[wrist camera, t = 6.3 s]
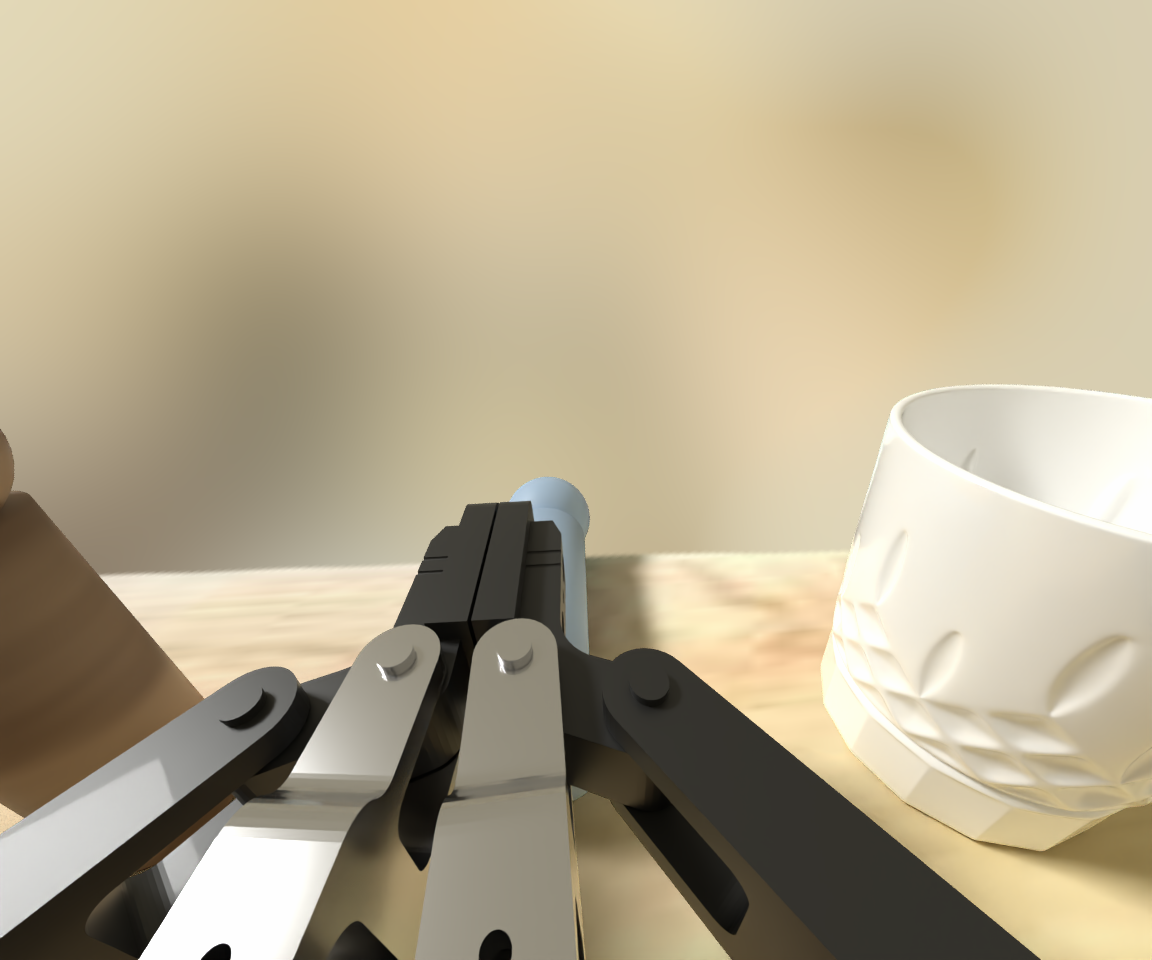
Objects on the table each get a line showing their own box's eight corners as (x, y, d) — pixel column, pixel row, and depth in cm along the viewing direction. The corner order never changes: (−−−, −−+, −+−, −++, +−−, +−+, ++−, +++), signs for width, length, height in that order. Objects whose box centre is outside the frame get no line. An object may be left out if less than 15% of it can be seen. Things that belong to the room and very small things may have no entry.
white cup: (1163, 771, 12) (1561, 471, 7) (1042, 972, 9) (1583, 700, 4) (881, 596, 18) (984, 366, 13) (751, 681, 15) (819, 426, 10)
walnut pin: (37, 891, 11) (-953, 396, 4) (166, 730, 15) (-245, 319, 8) (194, 883, 11) (-535, 370, 4) (285, 723, 15) (-19, 305, 8)
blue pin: (431, 739, 10) (506, 463, 22) (462, 815, 12) (515, 527, 24) (605, 734, 10) (587, 460, 22) (605, 811, 12) (589, 524, 24)
